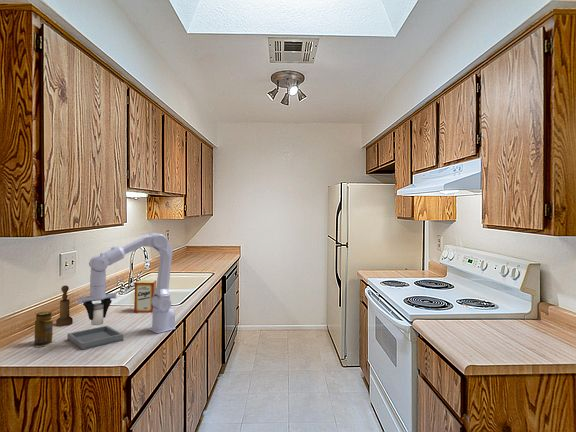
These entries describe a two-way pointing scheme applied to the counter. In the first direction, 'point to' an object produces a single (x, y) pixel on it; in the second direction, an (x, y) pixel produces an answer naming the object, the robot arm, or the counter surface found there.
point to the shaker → (97, 314)
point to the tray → (94, 337)
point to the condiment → (43, 330)
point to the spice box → (144, 296)
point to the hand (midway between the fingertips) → (97, 318)
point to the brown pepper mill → (64, 309)
